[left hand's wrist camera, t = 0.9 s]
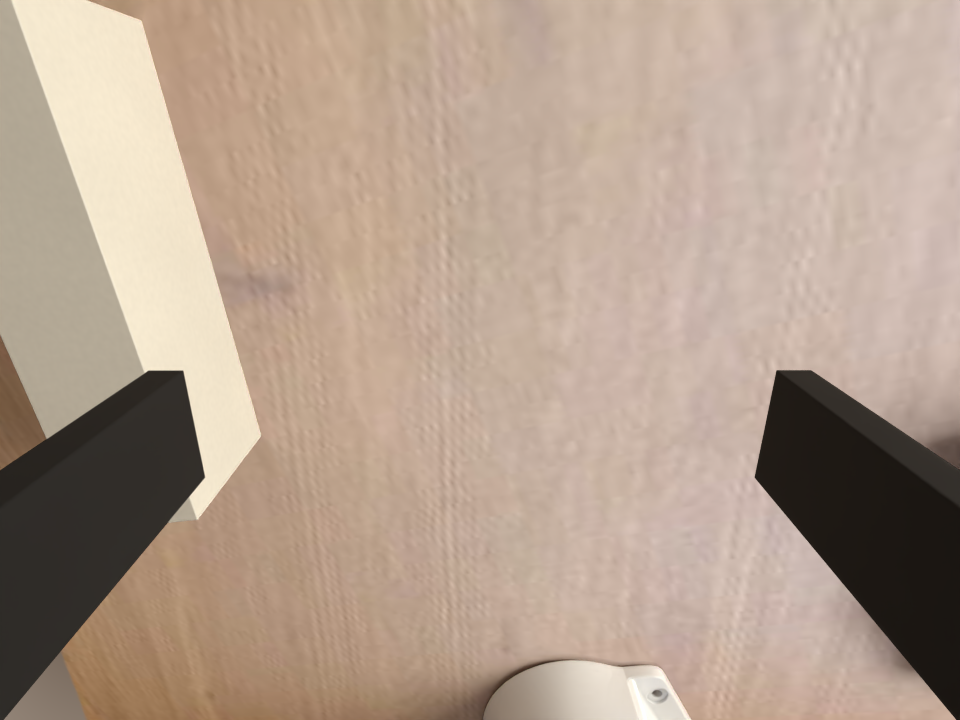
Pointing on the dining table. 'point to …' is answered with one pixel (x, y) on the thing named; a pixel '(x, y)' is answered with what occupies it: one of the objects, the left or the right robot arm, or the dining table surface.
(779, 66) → the dining table surface
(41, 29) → the box
